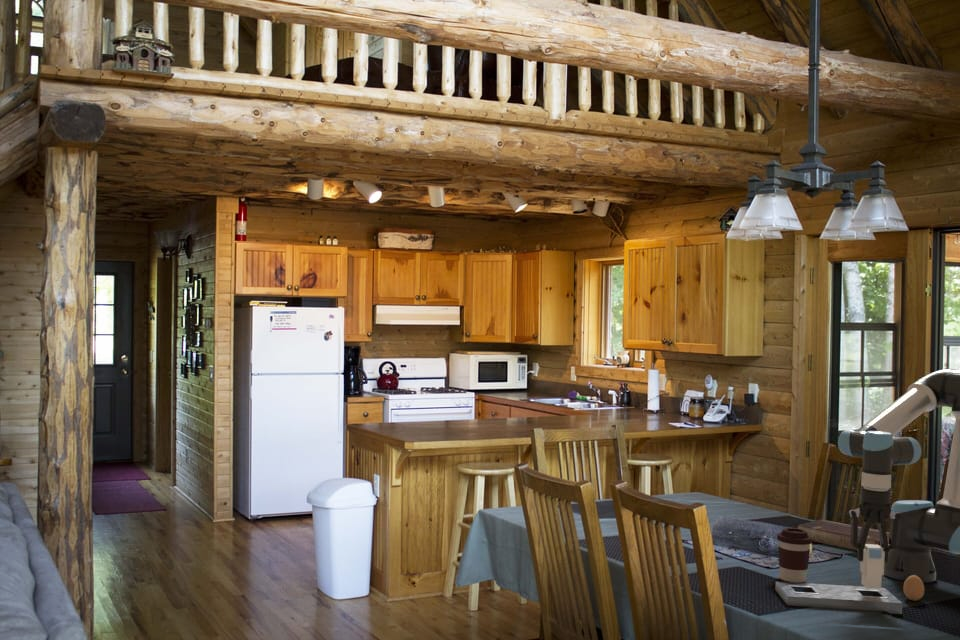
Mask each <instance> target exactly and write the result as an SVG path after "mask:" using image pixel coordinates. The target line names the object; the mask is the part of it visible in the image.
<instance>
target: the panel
mask: <svg viewBox="0 0 960 640" xmlns="http://www.w3.org/2000/svg"><path fill="white" fill-rule="evenodd" d="M774 590H775V591H776V593H777V594H778V595H779V597H780V598H781V599H782V600H783V602H784V603H785V604H786V606H793V607H794V606H795V607H810V608H828V609H841V610H842V609H844V610H845V609H846V610H861V611H878V612H886V613H888V614H890V615H891V614H892V615H893V614H895V615H902V614H903V602H902V601H901V600H900V599H898V598H897V597H896V596H895V595H894V594H893V593H891V592H890V591H889V590H887V588H885V587H881V589H879V588H866V587H865V586H863V585H862V586H859V585H845V584H844V585H843V584H840V585H839V584H826V583H825V584H824V583H809V582H807V583H806V582H789V581H775V589H774Z"/></svg>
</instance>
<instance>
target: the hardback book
mask: <svg viewBox="0 0 960 640" xmlns="http://www.w3.org/2000/svg"><path fill="white" fill-rule="evenodd" d="M861 528H862V526H859V525H858V540H859V536H860V532H861ZM797 529H802V530H805V531H807V533H808V535H809V536H811V537H812V542H814V543H815V542H816V543H820V544H825V545H829V546H834V547H838V548H843V549H844V548H845V549H847V550H854V551H857V548H856V547H854V546H853V545H851V524H847V523H843V522H842V523H841V522H836V521H832V520H826V519H818V520H814V521H810V522H806V523H801V524H798V525H797ZM886 533H887V539H888V543H889V532H888V531H886ZM866 544H874V545H879V546H881V541H880V535H879V529H874V528H869V532H868V536H867V540H866Z"/></svg>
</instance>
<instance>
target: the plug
mask: <svg viewBox="0 0 960 640" xmlns="http://www.w3.org/2000/svg"><path fill="white" fill-rule="evenodd" d="M864 549H866V550H867V560H866V574H862V573H861V579H860V580H861V581H860V582H861V585H862V586H863V587H866V588H879V589H881V588H882V580H883V578H882V576H883V575H882V560H883V548H882V547H881V546H879V545H874V544H865V547H864Z"/></svg>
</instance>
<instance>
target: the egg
mask: <svg viewBox="0 0 960 640" xmlns="http://www.w3.org/2000/svg"><path fill="white" fill-rule="evenodd" d="M924 584H925V583H923V582H922V580H921V579H920V578H919V577H918V576H916V575H912V576H909V577H908V578H907V579H906V581H903V589H902V590H903V593H904V595H905V596H906V597H907V599H908V600H909V601H914V602H915V601H919V600H921V598H923V597H924V595H925V585H924Z"/></svg>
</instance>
